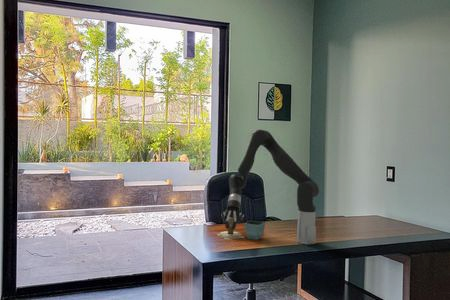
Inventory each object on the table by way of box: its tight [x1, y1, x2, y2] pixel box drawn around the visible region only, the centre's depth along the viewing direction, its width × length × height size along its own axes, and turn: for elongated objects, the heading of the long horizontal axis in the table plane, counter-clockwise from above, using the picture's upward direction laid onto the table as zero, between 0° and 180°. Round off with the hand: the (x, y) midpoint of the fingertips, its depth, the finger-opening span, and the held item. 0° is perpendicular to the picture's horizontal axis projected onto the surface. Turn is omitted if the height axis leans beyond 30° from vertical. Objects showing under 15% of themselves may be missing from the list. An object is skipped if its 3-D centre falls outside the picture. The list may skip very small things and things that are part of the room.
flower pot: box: [244, 220, 266, 241], centre depth 212 cm, size 9×9×9 cm
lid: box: [219, 217, 242, 239], centre depth 215 cm, size 12×12×10 cm
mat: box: [216, 233, 246, 240], centre depth 215 cm, size 12×12×1 cm
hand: (230, 228), depth 213 cm, fingers closed on lid, 3 cm apart
